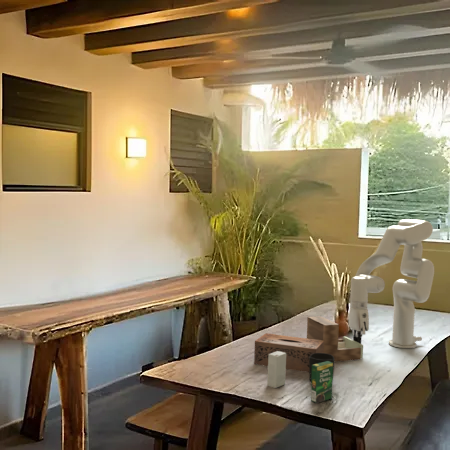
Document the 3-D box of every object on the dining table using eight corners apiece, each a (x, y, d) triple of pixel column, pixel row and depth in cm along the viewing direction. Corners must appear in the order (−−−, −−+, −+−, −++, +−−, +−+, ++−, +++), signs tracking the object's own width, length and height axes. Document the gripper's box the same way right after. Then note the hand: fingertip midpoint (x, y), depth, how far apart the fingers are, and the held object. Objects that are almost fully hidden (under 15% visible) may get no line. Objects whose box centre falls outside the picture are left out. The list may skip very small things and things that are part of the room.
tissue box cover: (254, 364, 240) (254, 340, 239) (265, 355, 253) (265, 333, 253) (315, 374, 230) (316, 349, 230) (323, 364, 244) (324, 340, 243)
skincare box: (276, 381, 219) (277, 350, 218) (285, 384, 216) (287, 352, 215) (266, 385, 214) (267, 353, 213) (276, 388, 211) (277, 356, 210)
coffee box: (315, 404, 197) (317, 366, 196) (309, 401, 200) (311, 363, 199) (332, 399, 202) (334, 362, 201) (326, 397, 204) (328, 360, 203)
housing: (341, 349, 266) (343, 315, 265) (360, 359, 251) (362, 323, 250) (306, 352, 260) (307, 316, 259) (323, 362, 245) (324, 325, 244)
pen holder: (338, 384, 218) (339, 358, 218) (320, 388, 213) (321, 361, 213) (321, 376, 226) (322, 351, 226) (303, 380, 221) (304, 354, 221)
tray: (346, 348, 266) (347, 336, 266) (364, 358, 252) (365, 344, 252) (310, 351, 260) (310, 338, 259) (326, 361, 246) (326, 347, 245)
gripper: (375, 307, 252) (373, 349, 253) (356, 300, 266) (355, 340, 267) (360, 308, 249) (358, 350, 251) (342, 301, 263) (341, 341, 265)
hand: (357, 345), depth 259 cm, fingers closed
